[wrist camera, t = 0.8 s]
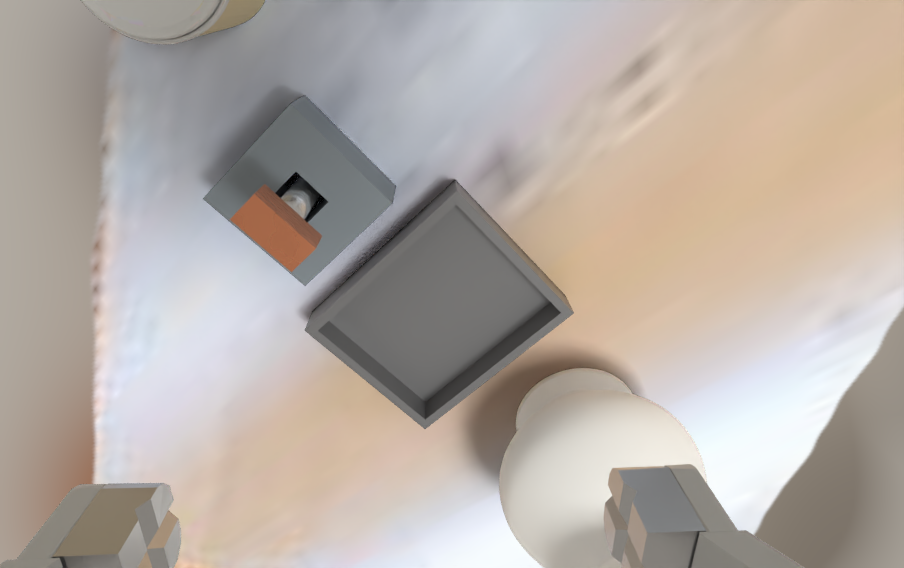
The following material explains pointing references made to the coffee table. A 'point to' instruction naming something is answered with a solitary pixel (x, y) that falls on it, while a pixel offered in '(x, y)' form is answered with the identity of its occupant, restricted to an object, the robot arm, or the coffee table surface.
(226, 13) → the coffee cup
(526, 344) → the tray
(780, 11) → the coffee table surface
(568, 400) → the decorative vase
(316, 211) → the hitch block
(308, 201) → the pin
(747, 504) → the coffee table surface
